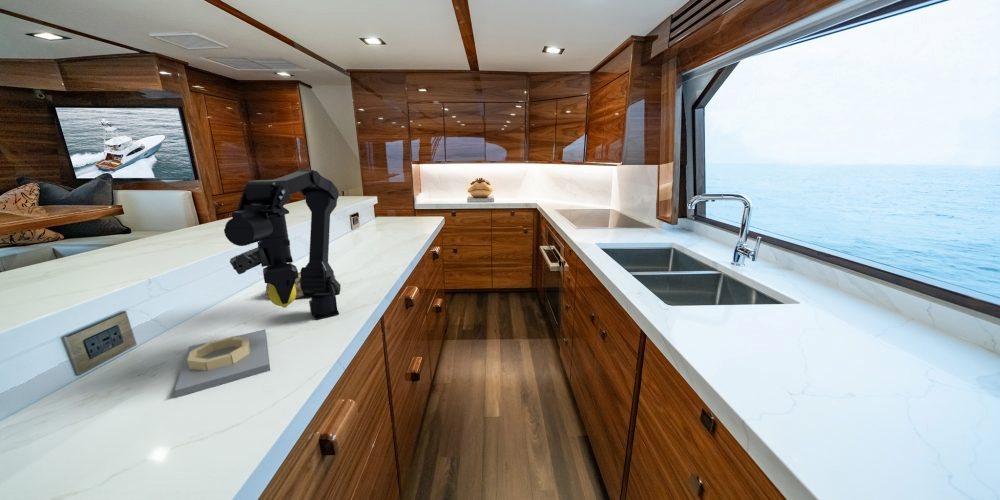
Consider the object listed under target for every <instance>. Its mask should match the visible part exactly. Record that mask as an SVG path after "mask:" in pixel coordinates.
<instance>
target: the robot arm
mask: <svg viewBox="0 0 1000 500" xmlns="http://www.w3.org/2000/svg"><path fill="white" fill-rule="evenodd" d="M244 186H245V187H244V188H243V190H242V193H241V197H240V199H239V202H238V205H237V208H236V211H232V212H231V216H232V218H230V219H229V220H227V222H226V223H225V225H224V230H223V231H224V232H223V233H224V235H225V237H226V238H227V240H228V241H229V242H230V243H231V244H232V245H235V246H237V247H238V246H239V247H244V246H248V245H251V244H254V243H257V247H254V248H252V249H249V250H247V251H244V252H242V253H240V254H238V255H235V256H232V257H231V258H230V260H229V263H230V265H231V266H232V268H233V270H234V271H236V273H237V275H242V274H244V273H246V272H247V271H249V270H251V269H253V268H255V267H258V266H259V265H261V268H262V274H263V280H264V284H267V283H269V284H271V285H274V287H275V289H276V291H277V293H278V295H279V298H280V300H281V302H282V304H287V303H288V301H289V298H290V295H291V292H292V289H293V286H294V283H295V280H296V279H297V278H299V276H298V272H299V270H298V268H297V266H296V265H295V264H294V263H293V262H294V261H293V256H292V252H291V241H290V238H289V233H288V227H287V221H286V215H288V214H290V210H288V209H287V208H286V207H284V206H285V205H286V204H287V203H288V202H289V201H291V196H292V195H294V194H296V193H298V192H300V194H301V195H302V196H303V197H304V199H305V204H306V206H307V207H308V209H309V210H310V211H309V212H311V213H310V214H311V215H310V216H311V217H310V219H311V220H310V238H309V239H310V240H309V254H308V255H309V257H308V262H307V264H306V265H305V267H303V266H302V267H301V269H300V272H301V278H300V287H301V290H302V292H303V295H304V296H303V297H304V298H310V299H309V301H308V304H309V311H310V315H311V316H312V317H313V319H314V320H316V321H317V320H320V319H326V318H328V317H334V316H337V315H340V312H339V310H338V305H337V304H338V303H337V296H339V295H340V294H341V289H342V288H341V283H340V282H339V281H338V279H336V277H335V278H334V275H335V271H334V270H333V268H332V266H331V264H330V263H329V247H330V227H331V226H330V225H331V223H330V222H331V214H332V213H333V211H334V210H335V208H337V205H338V204H337V203H338V199H339V195H340V193H339V190H338V187H336V185H335V184H334V183H333V181H331V180H329V179H328V178H326V177H324V176H323V175H321V174H320V173H319V171H317V170H314V169H298V170H295V172H291V173H290V174H286V175H284V176H281V177H278V178H277V177H276V178H275V179H258V180H257V179H256V180H248V181H247V182H246V183H245V184H244ZM263 267H264V268H263Z"/></svg>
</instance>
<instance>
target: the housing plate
mask: <svg viewBox="0 0 1000 500" xmlns="http://www.w3.org/2000/svg"><path fill="white" fill-rule="evenodd" d="M267 338H268V337H267V332H266V329H265V328H264V329H261V330H255V331H252V332H248V333H244V334H243V333H242V334H238V335H235V336H229V337H225V338H220V339H216V340H211V341H208V342H205V343H199V344H196V345H190V346H188V348H187V351H186V355H185V357H184V360H183V363H182V366H181V370H180V372H179V377H178V379H177V382H176V385H175V388H174V393H175V397H176V398H179V397H183V396H186V395H190V394H193V393H197V392H201V391H204V390H206V389H210V388H215V387H218V386H221V385H224V384H227V383H231V382H234V381H239V380H241V379H245V378H249V377H252V376H255V375H256V376H257V375H259V374H263V373H266V372H269V371H270V372H271V363H270V354H269V347H268V339H267Z"/></svg>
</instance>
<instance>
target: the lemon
mask: <svg viewBox="0 0 1000 500" xmlns="http://www.w3.org/2000/svg"><path fill="white" fill-rule="evenodd" d="M268 293H269V298H270V299H269V298H268V299H269V300H270V301H271V303H272V304H274V305H275V306H278V307H281V308H284V309H285V308H287V307H288V306H289V305H290V304H291V305H292V303H293V302H294V301H295V300H296V298H295V297H296V288H295V285H294V286H293V289H292V292H291V295H290V298H289V301H288V303H287V304H282V302H281V300H280V298H279V295H278V293H277V291H276V289H275V287H274V285H271V284H270V285H269V290H268Z"/></svg>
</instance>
